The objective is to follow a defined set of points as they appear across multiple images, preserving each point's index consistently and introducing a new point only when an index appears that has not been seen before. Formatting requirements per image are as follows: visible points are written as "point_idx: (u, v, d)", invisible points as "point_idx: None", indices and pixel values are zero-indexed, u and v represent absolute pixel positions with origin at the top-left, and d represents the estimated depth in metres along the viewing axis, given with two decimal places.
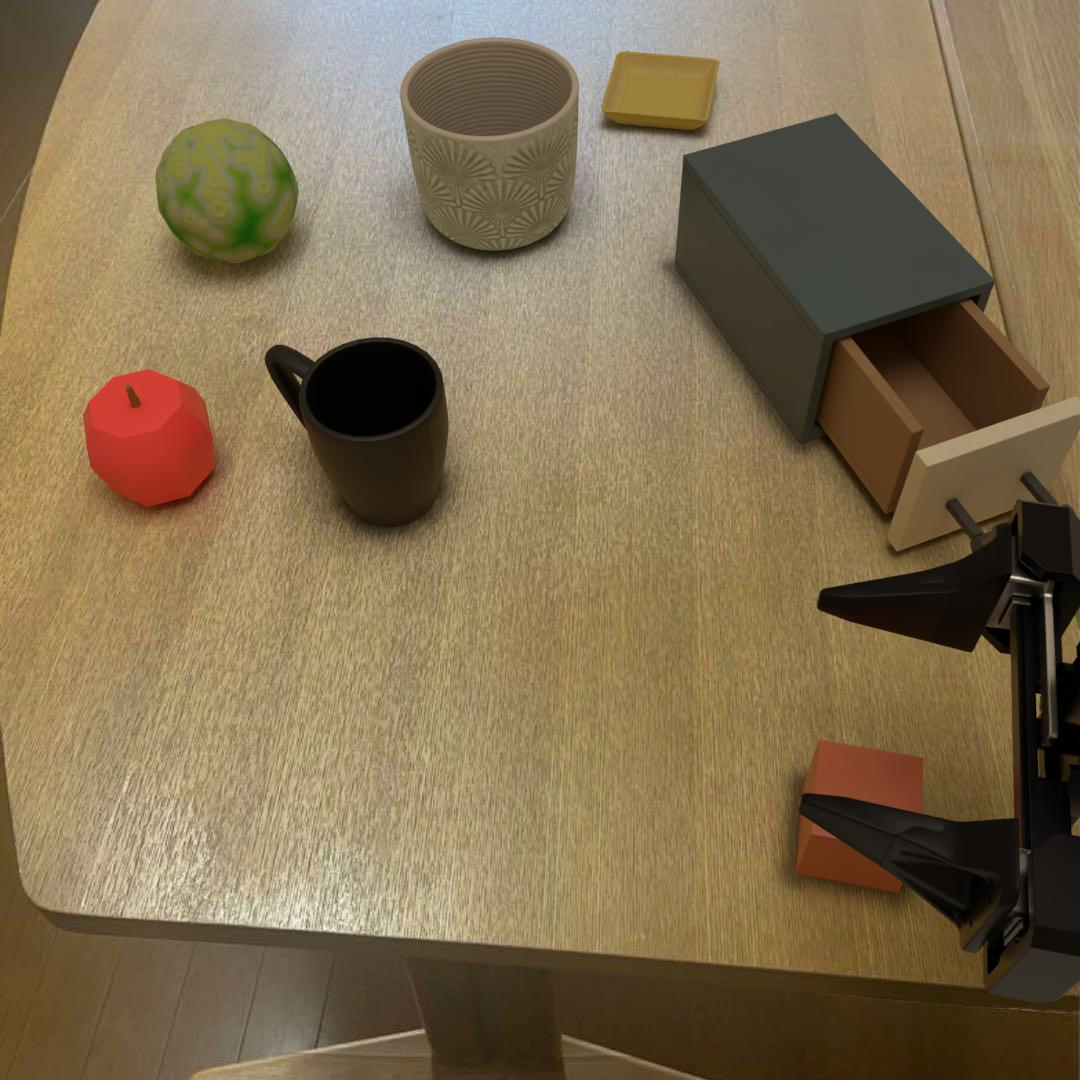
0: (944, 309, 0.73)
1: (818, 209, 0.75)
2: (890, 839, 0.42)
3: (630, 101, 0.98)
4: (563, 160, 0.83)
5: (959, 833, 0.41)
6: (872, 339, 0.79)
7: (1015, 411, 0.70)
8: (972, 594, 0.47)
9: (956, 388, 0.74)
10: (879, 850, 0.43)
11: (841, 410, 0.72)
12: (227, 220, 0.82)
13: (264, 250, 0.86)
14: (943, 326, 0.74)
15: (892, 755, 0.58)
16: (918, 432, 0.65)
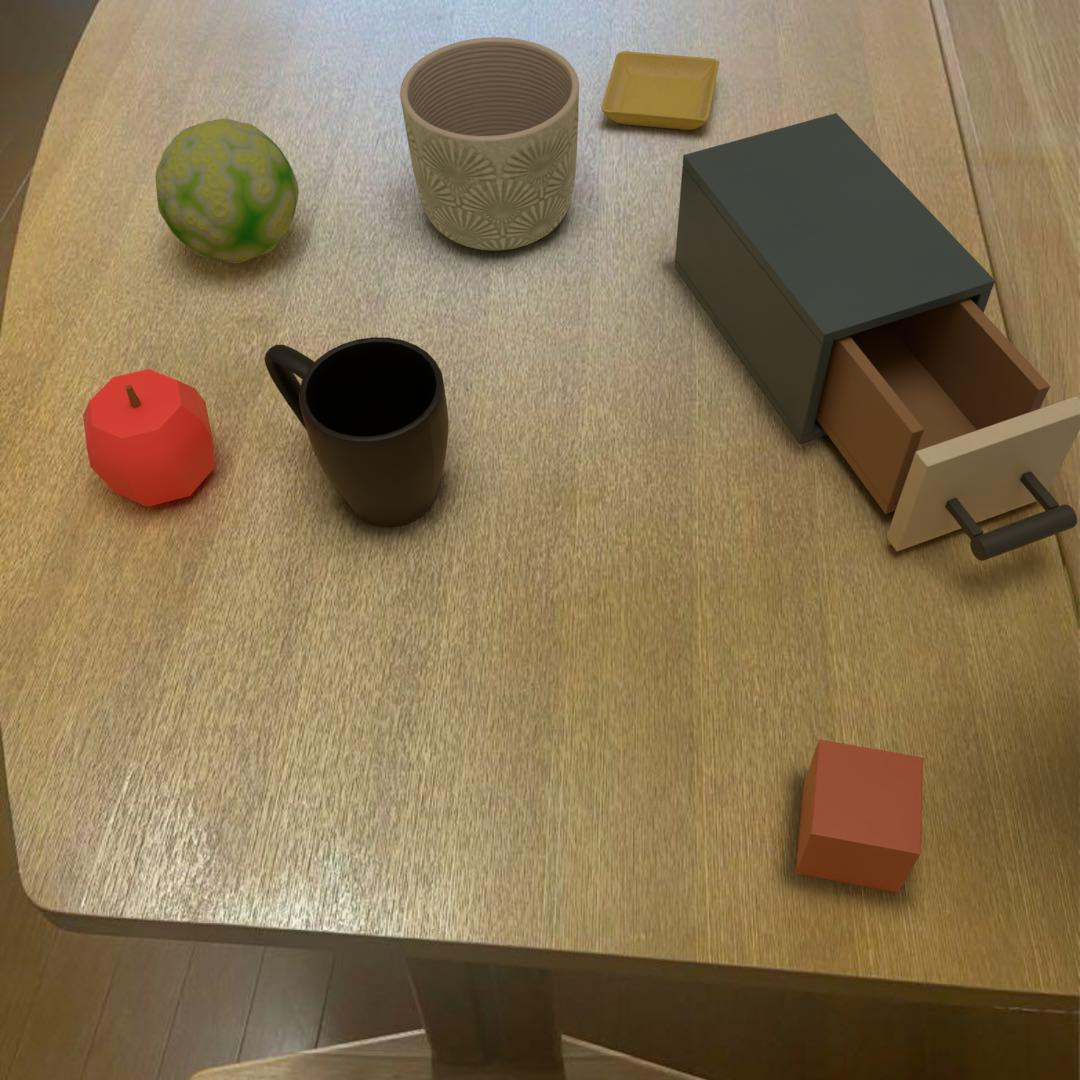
0: (944, 309, 0.73)
1: (818, 209, 0.75)
2: None
3: (630, 101, 0.98)
4: (563, 160, 0.83)
5: None
6: (872, 339, 0.79)
7: (1015, 411, 0.70)
8: None
9: (956, 388, 0.74)
10: None
11: (841, 410, 0.72)
12: (227, 220, 0.82)
13: (264, 250, 0.86)
14: (943, 326, 0.74)
15: (892, 755, 0.58)
16: (918, 432, 0.65)
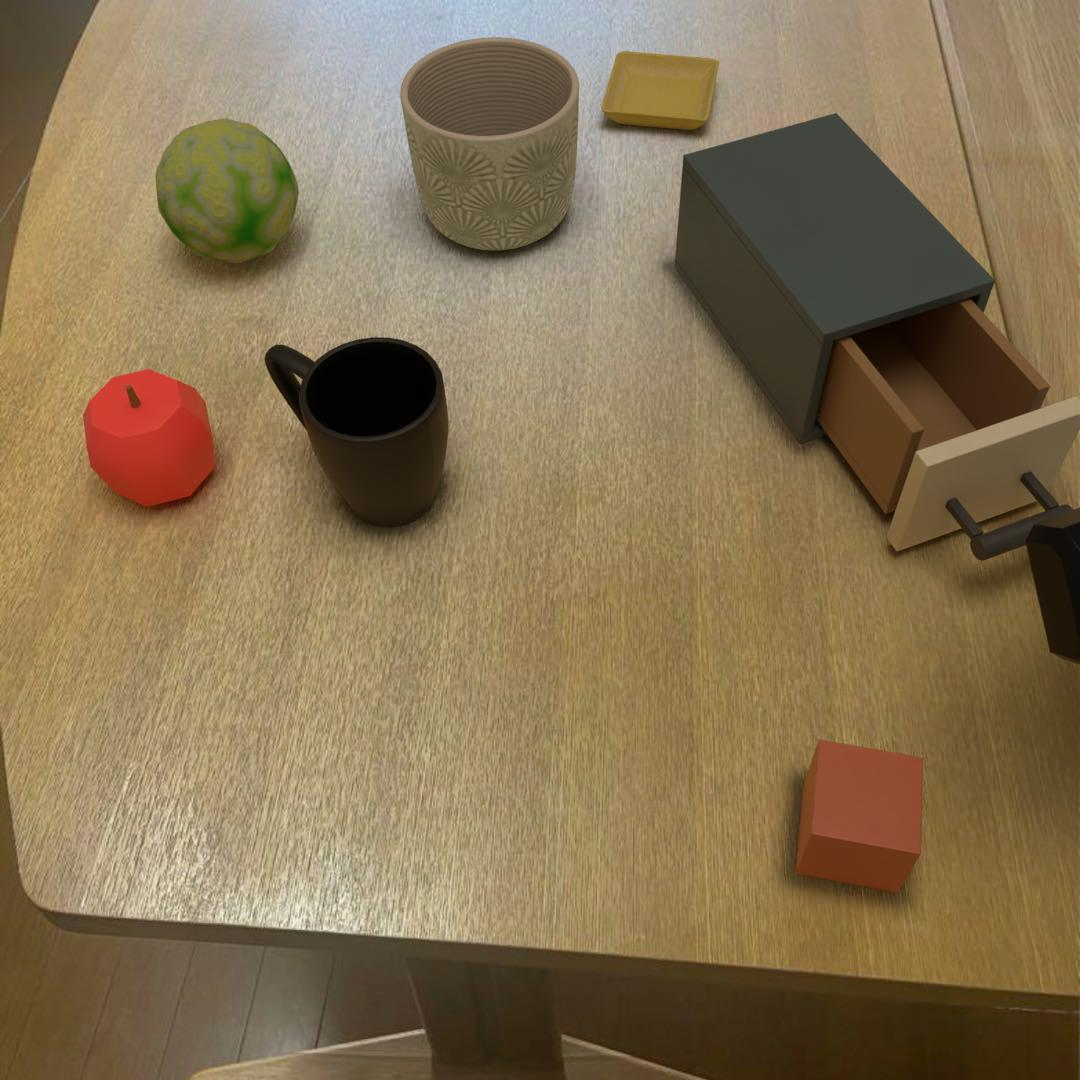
0: (944, 309, 0.73)
1: (818, 209, 0.75)
2: None
3: (630, 101, 0.98)
4: (563, 160, 0.83)
5: None
6: (872, 339, 0.79)
7: (1015, 411, 0.70)
8: None
9: (956, 388, 0.74)
10: None
11: (841, 410, 0.72)
12: (227, 220, 0.82)
13: (264, 250, 0.86)
14: (943, 326, 0.74)
15: (892, 755, 0.58)
16: (918, 432, 0.65)
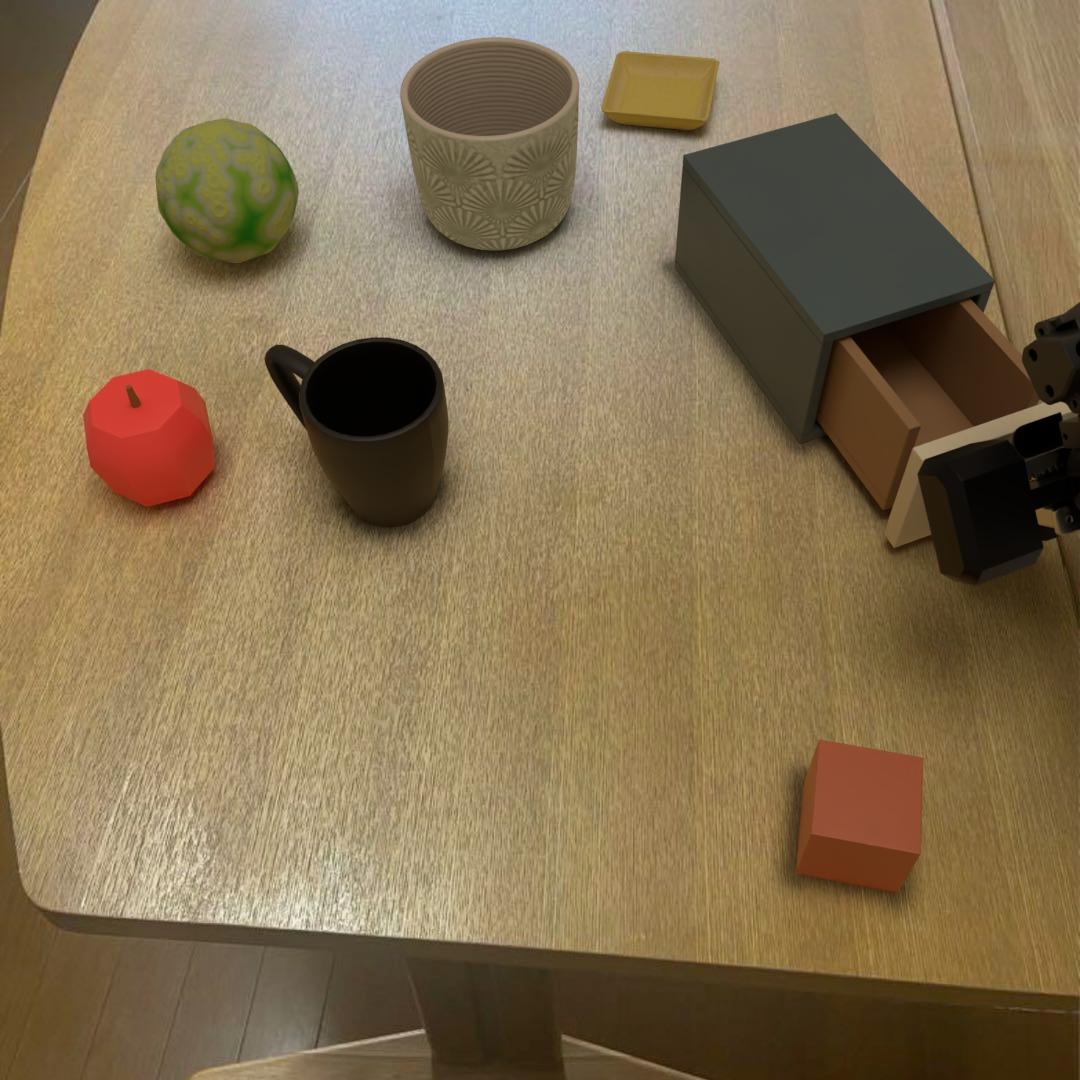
0: (941, 306, 0.73)
1: (818, 209, 0.75)
2: None
3: (630, 101, 0.98)
4: (563, 160, 0.83)
5: None
6: (870, 336, 0.79)
7: (1012, 408, 0.70)
8: None
9: (953, 385, 0.75)
10: None
11: (839, 407, 0.72)
12: (227, 220, 0.82)
13: (264, 250, 0.86)
14: (940, 323, 0.74)
15: (892, 755, 0.58)
16: (916, 429, 0.66)
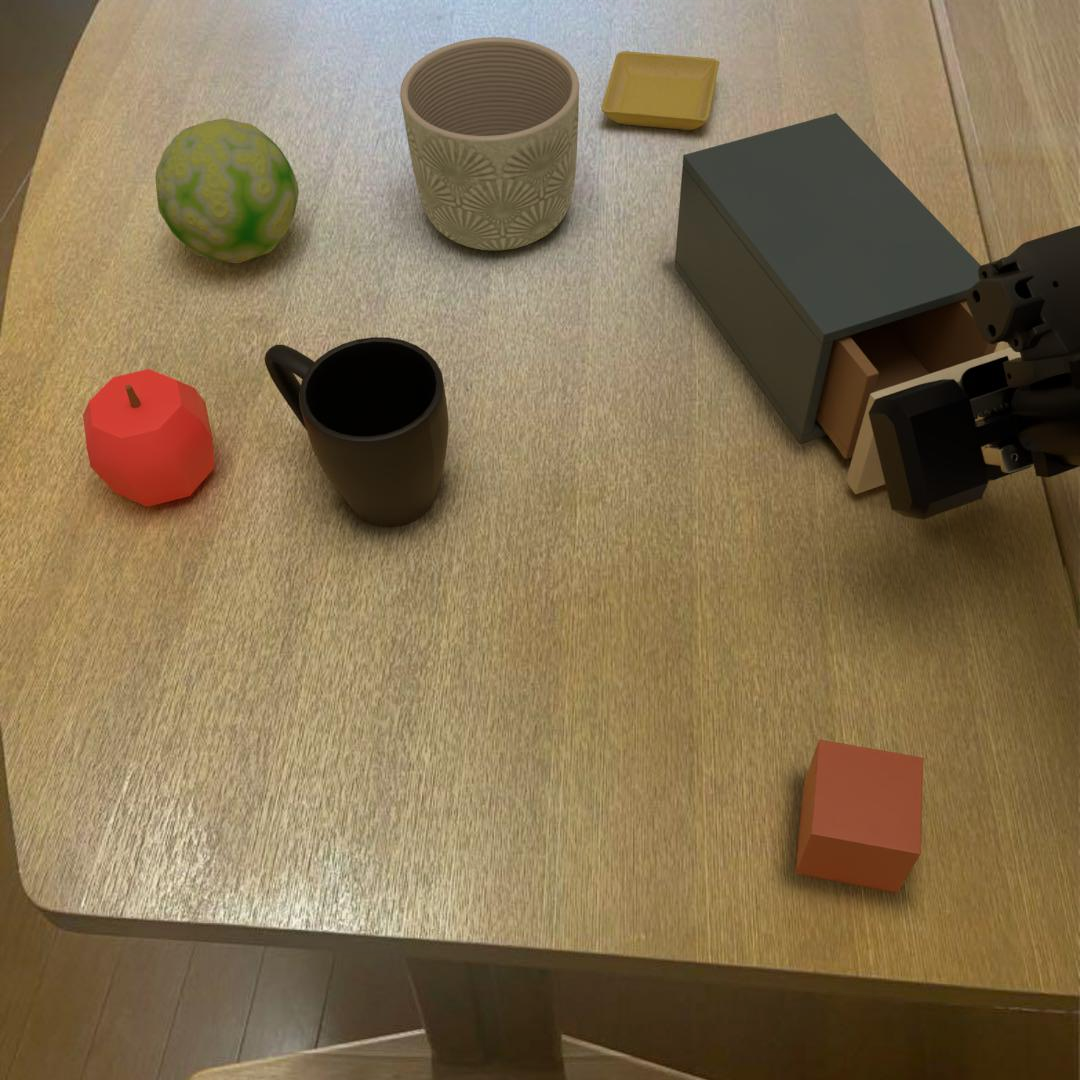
0: None
1: (818, 209, 0.75)
2: None
3: (630, 101, 0.98)
4: (563, 160, 0.83)
5: None
6: None
7: (969, 359, 0.72)
8: None
9: (915, 340, 0.77)
10: None
11: None
12: (227, 220, 0.82)
13: (264, 250, 0.86)
14: None
15: (892, 755, 0.58)
16: (874, 376, 0.68)
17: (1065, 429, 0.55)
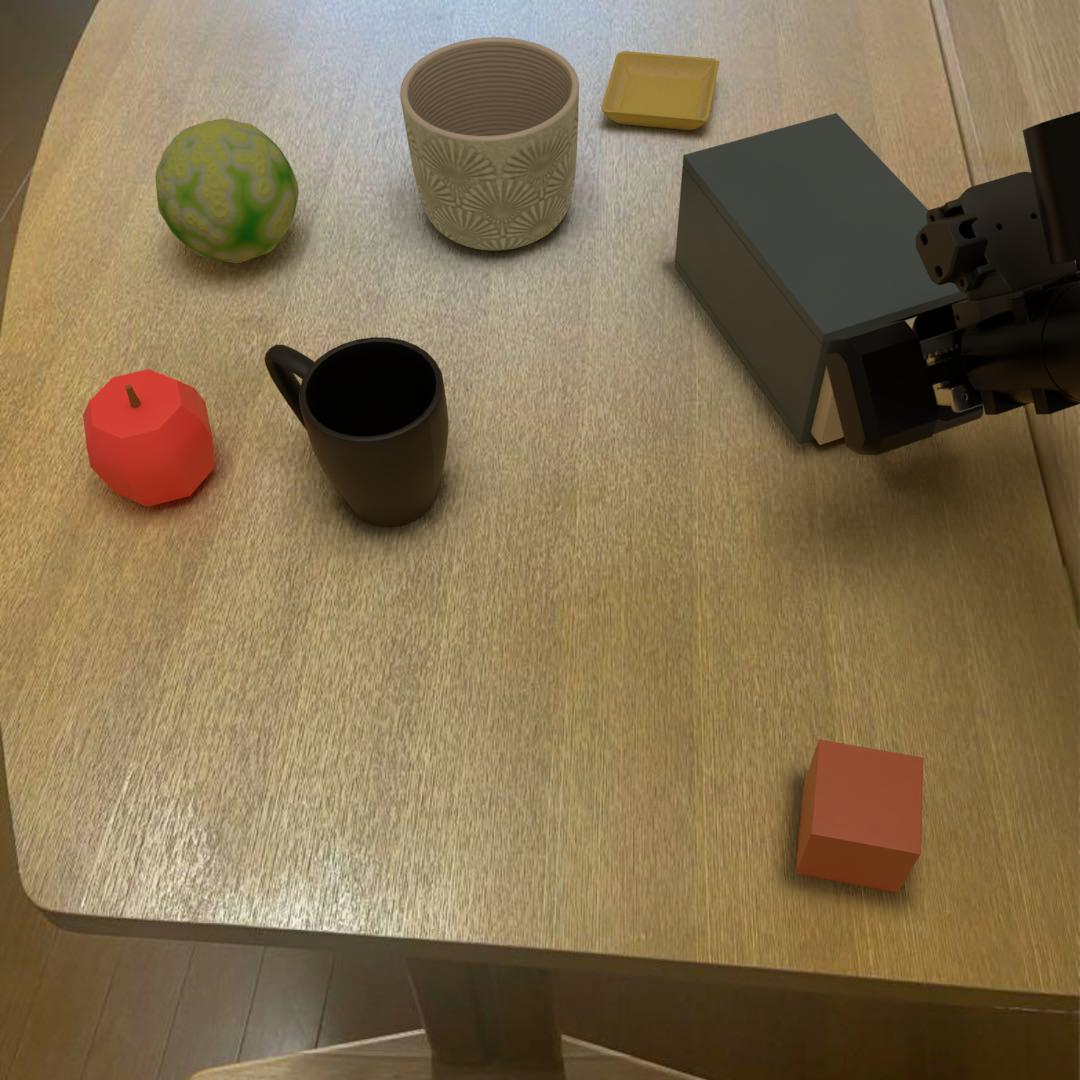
0: None
1: (818, 209, 0.75)
2: None
3: (630, 101, 0.98)
4: (563, 160, 0.83)
5: None
6: None
7: None
8: None
9: None
10: None
11: None
12: (227, 220, 0.82)
13: (264, 250, 0.86)
14: None
15: (892, 755, 0.58)
16: None
17: (1009, 365, 0.58)
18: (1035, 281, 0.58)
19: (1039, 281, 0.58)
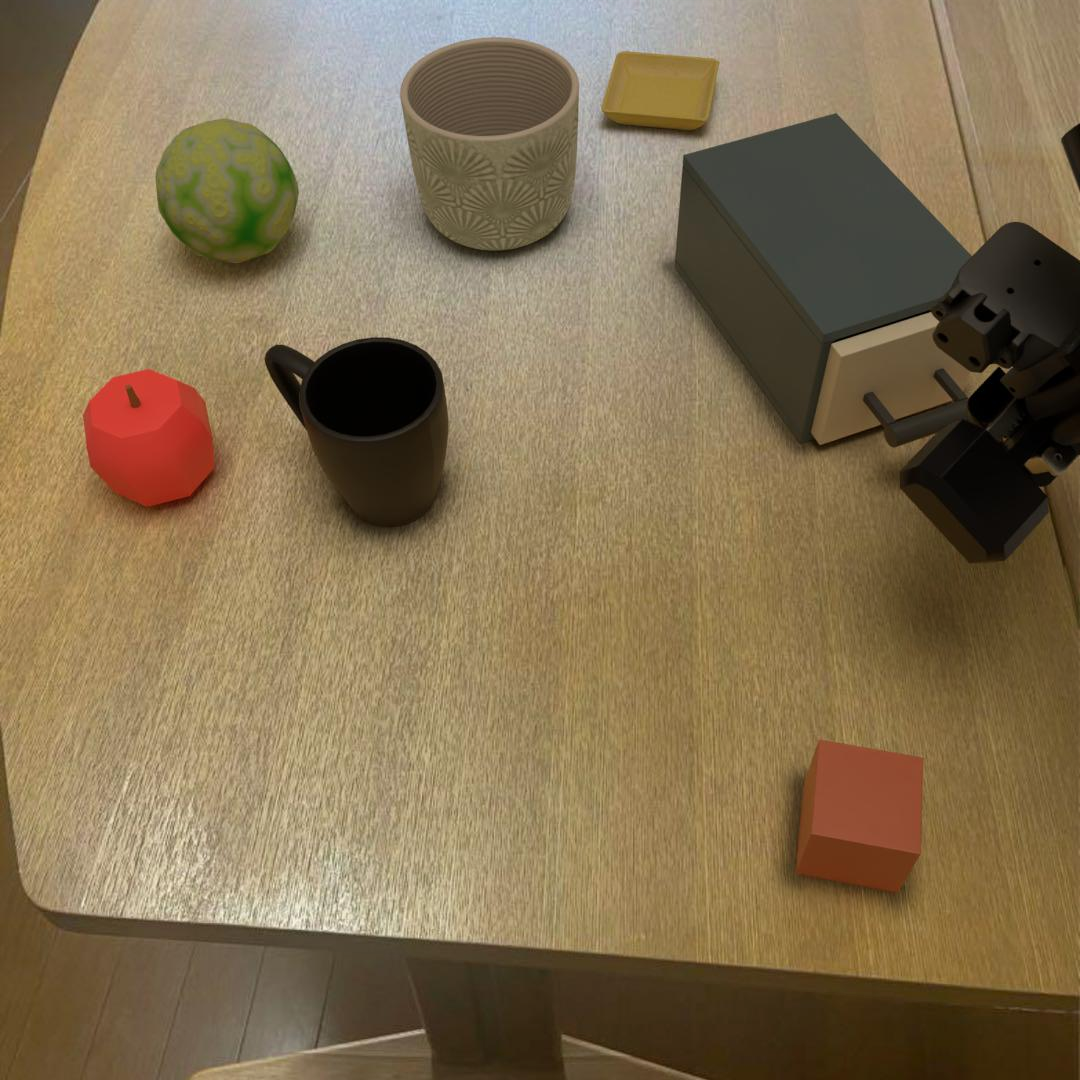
0: None
1: (818, 209, 0.75)
2: None
3: (630, 101, 0.98)
4: (563, 160, 0.83)
5: None
6: None
7: None
8: None
9: None
10: None
11: None
12: (227, 220, 0.82)
13: (264, 250, 0.86)
14: None
15: (892, 755, 0.58)
16: None
17: None
18: (1075, 325, 0.53)
19: (1079, 323, 0.53)
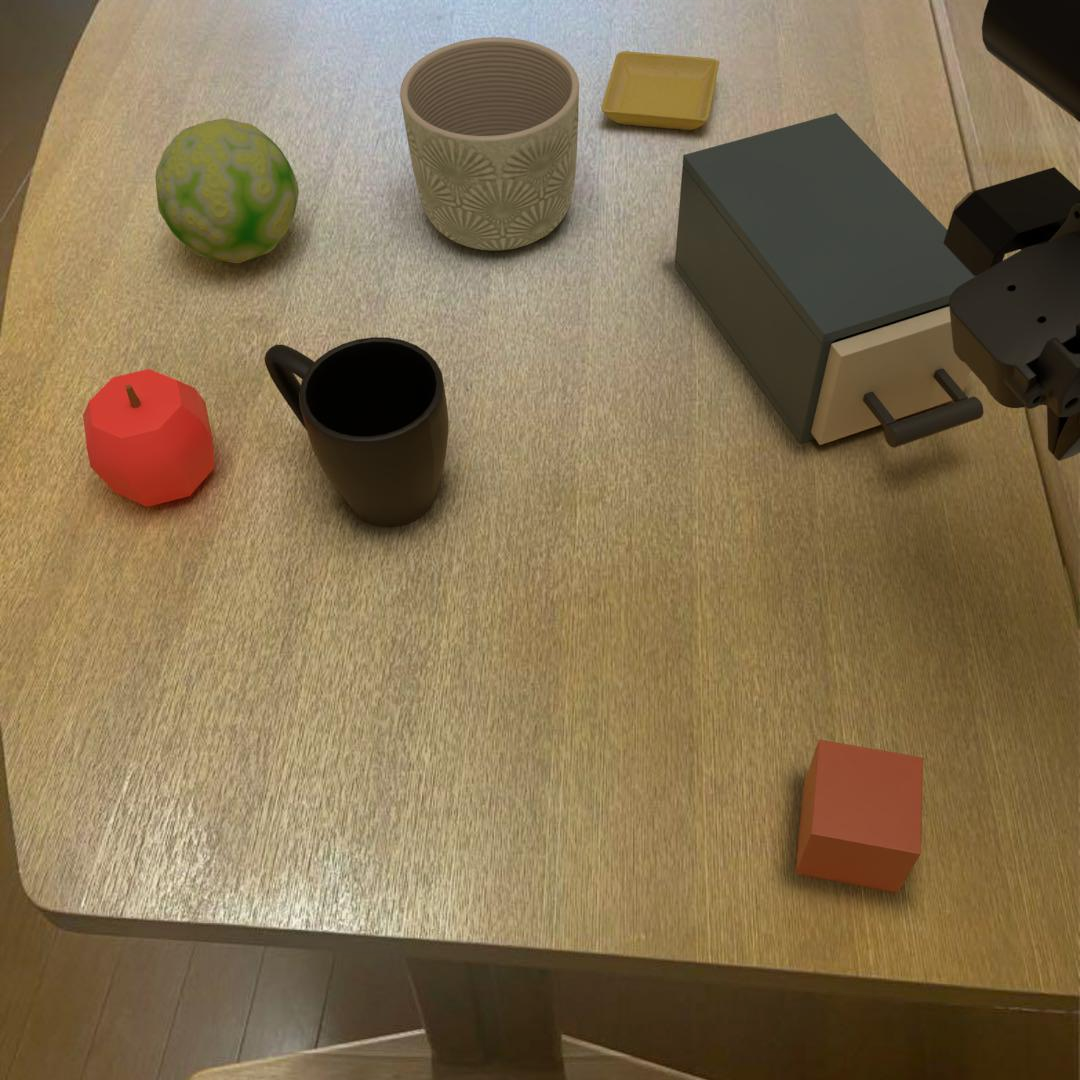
0: None
1: (818, 209, 0.75)
2: None
3: (630, 101, 0.98)
4: (563, 160, 0.83)
5: None
6: None
7: None
8: None
9: None
10: None
11: None
12: (227, 220, 0.82)
13: (264, 250, 0.86)
14: None
15: (892, 755, 0.58)
16: None
17: None
18: None
19: None
